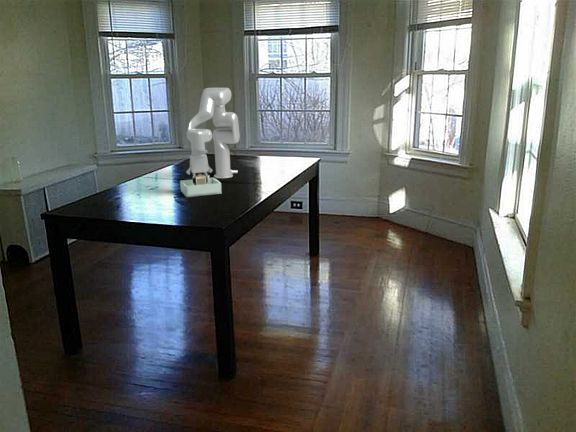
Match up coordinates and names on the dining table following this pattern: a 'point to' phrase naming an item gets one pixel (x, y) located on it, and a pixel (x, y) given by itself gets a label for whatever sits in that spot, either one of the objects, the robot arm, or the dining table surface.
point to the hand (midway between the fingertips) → (200, 183)
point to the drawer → (200, 179)
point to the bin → (200, 188)
